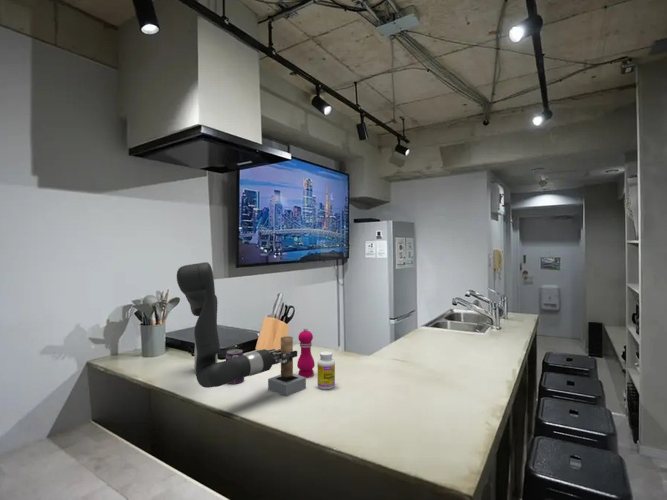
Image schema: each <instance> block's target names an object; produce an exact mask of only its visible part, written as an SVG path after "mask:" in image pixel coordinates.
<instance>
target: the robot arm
mask: <svg viewBox="0 0 667 500" xmlns="http://www.w3.org/2000/svg"><path fill="white" fill-rule="evenodd" d="M176 281H177V284H178V288H179V289H180V291H181V292H182V294H183V295H184V296H185V298H186V300H187V301H188V304H189V306H190V307H189V308H190V311H191V314H192V316H195V317H197V320H196V322H195V325H194V331H193V332H194V334H193V335H194V336H193V337H194V349H193V350H194V351H193V352H194V356H193V357H194V372H195V376H196V380H197V383H198V385H199V386H201V387H202V388H205V389H207V388H208V389H210V388H218V387H221V386H225V385H227V384H230V383H229V382H232V381H234V380H237V379H240V378H244V379H245V378H246V377H252V376H255V375H259V374H261V373H265V372H267V371H270V370H271V369H272V367H273V365H275V366H276V365H278V364H281V363H282V365H286V364H288V363H289V362H291V361H293V362H294V358H297V357H298V351H297V350H293V351H292V352H288V353H284V352H281V349H275V348H272V349H266V348H264V349H259V350H255V351H251V352H248V353H245V354H244V355H243V356H239V357H235V358H232V359H230V360H227V361H226V360H224V361H223V360H222V361H219V360H218V359H219V358H218V354H219V352H221V351H220V350H221V346H220V340H219V339H220V338H219V331H218V319H217V318H218V297H217V294H216V291H215V277H214V272H213V269H212V266H211V264H210V262H199V263H192V264H191V263H190V264H185V265H183V266H180V267H178V269H177V271H176ZM281 355H282V359H281ZM285 355H286V356H285ZM218 361H219V362H218Z"/></svg>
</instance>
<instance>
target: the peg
mask: <svg viewBox="0 0 667 500" xmlns="http://www.w3.org/2000/svg"><path fill="white" fill-rule="evenodd" d="M293 339H294V338H293V336H289V335H288V336H281V337H280V350H281V352H284V353H288V352H292V351H294V348H293V347H294V345H293V344H294V343H293V342H294V340H293ZM285 356H286V355H285ZM281 359H282V355H281ZM293 374H294V360H293V361H291V362H289V363H288V364H286V365H282V363H280V375H281V376H282V377H291V376H293Z"/></svg>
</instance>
